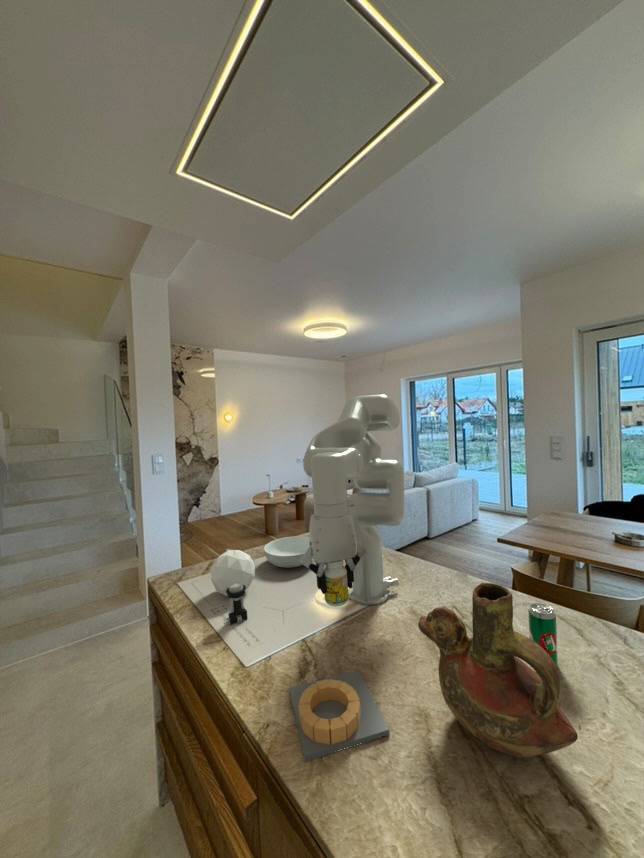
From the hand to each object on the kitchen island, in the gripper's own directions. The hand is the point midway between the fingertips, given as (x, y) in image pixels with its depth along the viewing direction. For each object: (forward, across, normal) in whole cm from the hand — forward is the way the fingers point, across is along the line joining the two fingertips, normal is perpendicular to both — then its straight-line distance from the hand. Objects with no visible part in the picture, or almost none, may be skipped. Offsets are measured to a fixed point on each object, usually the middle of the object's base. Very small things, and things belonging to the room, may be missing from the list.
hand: (335, 587), depth 78 cm
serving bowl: (+19, +1, -58) cm, 61 cm away
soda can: (+18, -41, +15) cm, 47 cm away
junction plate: (+17, +5, +12) cm, 22 cm away
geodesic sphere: (+18, +23, -42) cm, 51 cm away
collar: (+17, +7, +14) cm, 23 cm away
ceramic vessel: (+18, -19, +24) cm, 35 cm away
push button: (+18, +23, -25) cm, 38 cm away
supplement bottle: (+3, 0, 0) cm, 3 cm away
